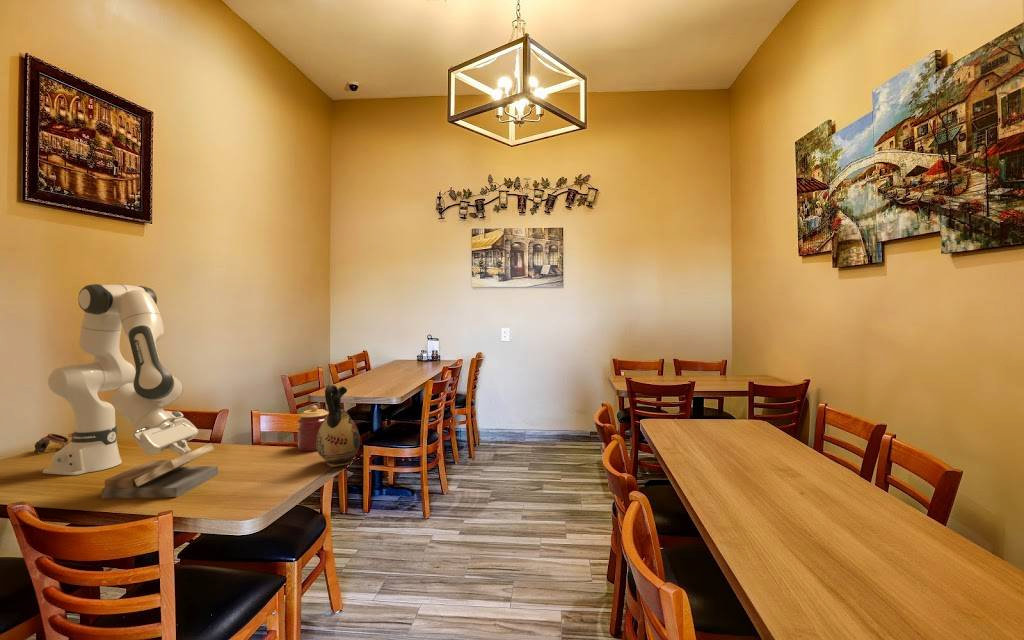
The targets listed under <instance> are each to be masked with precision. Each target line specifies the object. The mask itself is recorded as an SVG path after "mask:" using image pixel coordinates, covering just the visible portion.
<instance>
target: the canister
mask: <svg viewBox="0 0 1024 640" xmlns="http://www.w3.org/2000/svg"><path fill="white" fill-rule="evenodd" d="M328 413H329V411H327V410H325V409H323V408H318V406H317V405H312V406H311V407H310V409H307V410H304V411H302V413H300V414H299V419H297V423H298V427H297V440H298V442H297V447H298V450H299V451H301V452H316V451H317V446H316V441H317V435H318V432H319V429H320V427H321V425H322V423H323V421H324V420H325V418H326V416H327V415H328ZM317 452H318V451H317Z"/></svg>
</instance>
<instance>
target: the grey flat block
mask: <svg viewBox="0 0 1024 640" xmlns="http://www.w3.org/2000/svg"><path fill="white" fill-rule="evenodd" d="M171 460H172V459H156V460H155V459H153V460H150V461H147V462H144V463H143V464H141V465H137V466H135V467H133V468H131V469H128V470H125V471H124V472H120V473H118V474H115V475H114V476H112V477H109V478H106V479H104V487H103V488H101V499H150V498H151V499H153V498H155V499H156V498H157V499H159V498H160V499H161V498H162V499H163V498H164V499H165V498H167V497H175V498H179V497H180V496H182V495H184V494H186V493H188V492H189V491H191V490H192V488H193V489H195V488H196V487H198V486H200V485H201V483H202V484H204V483H206V482H207V481H209V480H211V479H213V478H215V477H216V476H218V475H219V466H218V465H212V466H211V465H202V466H198V465H197V466H191V465H189V466H188V465H187V466H181V467H179V468H177V469H175V470H172V471H170V472H168V473H166V474H164V475H162V476H160V477H158V478H155V479H153V480H151V481H149V482H147V483H145V484H143V485H140V486H138V487H137V485H136V483H135V481H134V479H136V478H138V477H140V476H142V475H144V474H146V473H148V472H150V471H152V470H154V469H156V468H157V467H159V466H161V465H163V464H165V463H167V462H169V461H171ZM217 474H218V475H217ZM215 475H216V476H215ZM212 477H213V478H212ZM210 478H211V479H210ZM208 479H209V480H208ZM203 482H204V483H203ZM194 487H195V488H194ZM185 492H186V493H185Z"/></svg>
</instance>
